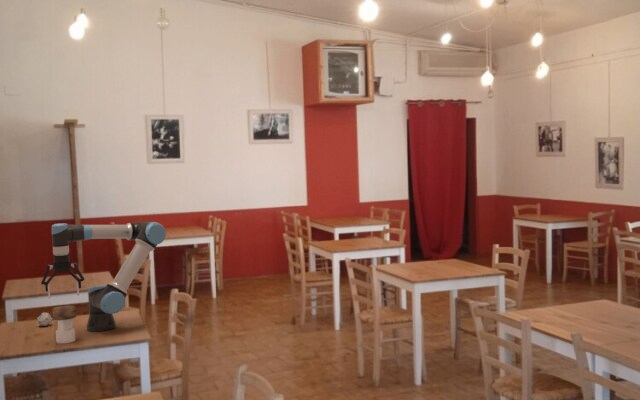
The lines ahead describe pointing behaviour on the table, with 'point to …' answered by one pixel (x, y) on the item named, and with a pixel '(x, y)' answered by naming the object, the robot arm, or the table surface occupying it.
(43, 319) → the game die
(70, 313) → the walnut lid
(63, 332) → the white stepped block
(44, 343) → the table surface
